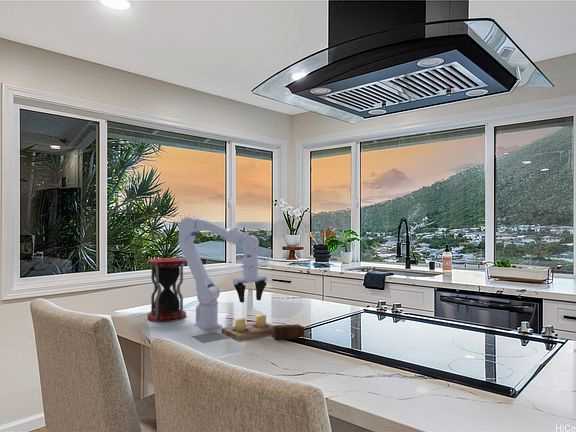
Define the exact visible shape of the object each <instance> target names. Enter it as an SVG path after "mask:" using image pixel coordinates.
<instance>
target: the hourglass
mask: <svg viewBox="0 0 576 432" xmlns="http://www.w3.org/2000/svg"><path fill="white" fill-rule="evenodd" d="M185 264H187V261H186V259H185V258H183V257H182V258H180V257H163V258H161V257H160V258H149V259H147V265H149V266H151V282H152V284H153V286H154V289H153V292H152V293H151V297H150V298H151V300H150V305H151V306H150V307H151V309H150V310H151V311H150V312H149V313H147V315H146V319H147V320H148V321H152V322H156V323H157V322H162V323H163V322H172V321H173V322H174V321H179V320H180V321H181V320H182V319H185V318H186V317H187V311H185V310H184V297H183V294H182V293H181V285H182V284H183V282H184V265H185ZM178 279H179V282H178V284H177V281H178ZM162 287H163V289H162ZM171 287H172V290H171ZM156 293H157V294H156ZM155 295H156V297H155ZM178 296H179V297H178Z"/></svg>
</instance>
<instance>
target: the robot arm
mask: <svg viewBox="0 0 576 432" xmlns="http://www.w3.org/2000/svg"><path fill="white" fill-rule="evenodd" d="M177 228H178V245H179V247H180V250H181V251H182V254H183V256H184V259H186V264H187V265H188V267H189V270H190V273H191V274H192V277H193V278H194V281H195V283H196V284H195V285H196V286H195V291H196V293H197V294H196V297H197V301H198V302H199V303H198V304H197V305H196V307H195V322H194V323H193V325H194V326H196V327H199V328H200V329H202V330H206V329H212V328H218V327H223V324H220V323H218V320H219V317H218V316H219V312H218V309H219V306H218V303H219V301H218V298H220V292H221V291H220V289H219V287H218V286H216V285H215V283H214V281H213V280H212V278H210V276H209V275H208V273H207V270H206V268H205V266H204V263H203V261H202V259H201V257H200V255H199V252H198V250H197V248H196V245H195V244H194V241H195V239H196V237H197V236H198V234H199V233H200V232H201V231H208V232H210V233H213V234H215V235H219V236H221V237H223V238H224V239H225V242H227V243H229V244H233V245H235V246H237V247H241V248H242V249H243V255H242V277H237V278H232V284H233V287H234V289H235V290H236V293H237V296H238V299H239V302H240V303H242V304H244V302H245V292H246V287H247V286H246V285H245V284H249V283H250V284H251V283H254V285H255V299H256V300H257V301H261V299H262V295H263V292H264V290H265V287H267V282H268V276H266V275H259V269H258V268H259V267H258V266H259V262H258V261H259V254H258V248H259V246H260V241H259V238H258V237H257V236H255V235H254V234H251V235H250V234H249V232H243V231H241V230H239V228H238V227H230V228H228V229H227V228H225V227H223V226H221V225H219V224H217V223H214V222H212V221H210V220H207V219H204V218H200V217H197V216H195V217H189V216H186V217H183V218H182V219H181V221H180V222H179V224H178V226H177Z"/></svg>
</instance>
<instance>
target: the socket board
mask: <svg viewBox="0 0 576 432" xmlns="http://www.w3.org/2000/svg"><path fill="white" fill-rule="evenodd" d="M273 326H275V324H271V323H269V322H266V328H260V329H258V328H256V321H255V322H251V323H246V331H244V332H238V333H237V332H235V325H232V326H228V327H222V328H221V334H222V335H224V336H226V337H228V338H231V339H233V340H235V341H238V342H239V341H243V340H249V339H254V338H258V337H264V336H269V335H272V336H273Z"/></svg>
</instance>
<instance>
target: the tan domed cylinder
mask: <svg viewBox="0 0 576 432" xmlns="http://www.w3.org/2000/svg"><path fill="white" fill-rule="evenodd" d="M255 322H256V328H258V329H260V328H266V323H267V315H266V314H257V315H255Z"/></svg>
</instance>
